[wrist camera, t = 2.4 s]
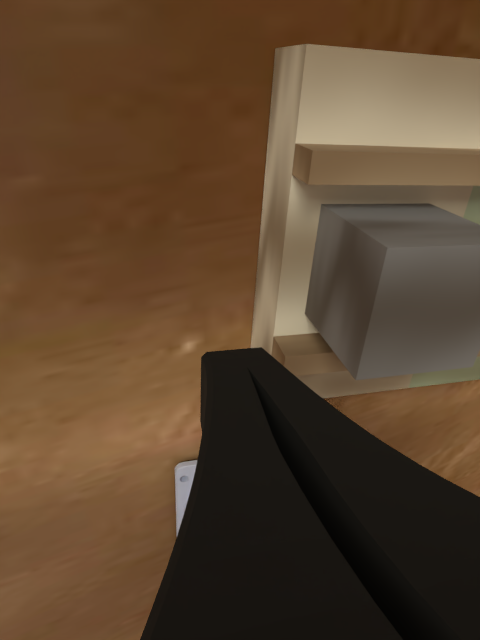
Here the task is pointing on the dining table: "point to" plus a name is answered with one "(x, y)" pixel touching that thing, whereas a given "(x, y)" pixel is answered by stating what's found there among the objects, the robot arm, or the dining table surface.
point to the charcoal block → (396, 288)
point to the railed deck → (356, 180)
